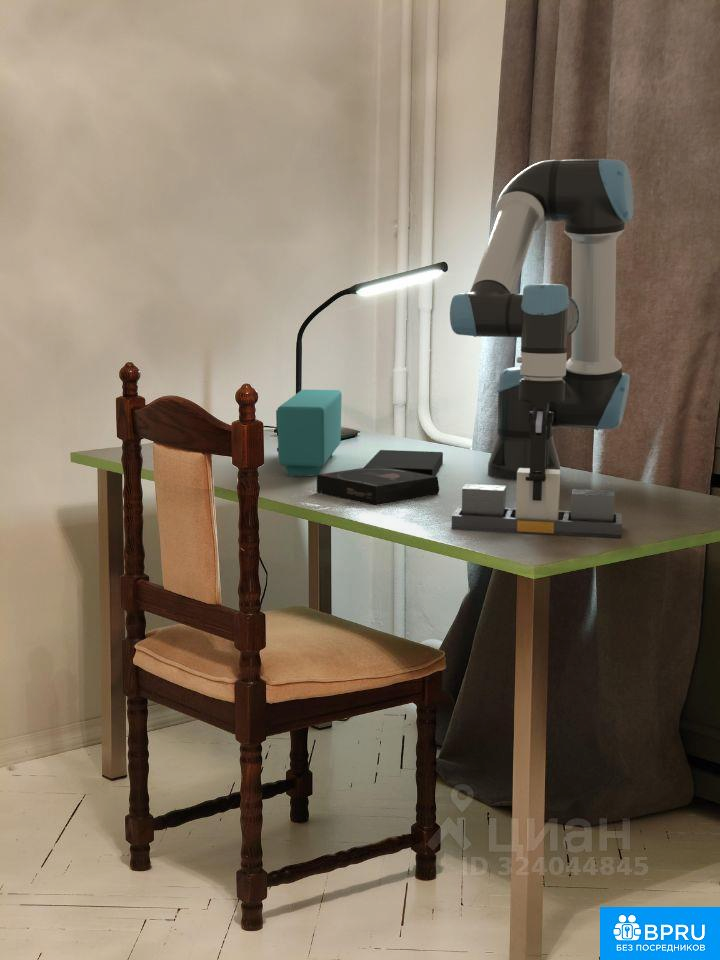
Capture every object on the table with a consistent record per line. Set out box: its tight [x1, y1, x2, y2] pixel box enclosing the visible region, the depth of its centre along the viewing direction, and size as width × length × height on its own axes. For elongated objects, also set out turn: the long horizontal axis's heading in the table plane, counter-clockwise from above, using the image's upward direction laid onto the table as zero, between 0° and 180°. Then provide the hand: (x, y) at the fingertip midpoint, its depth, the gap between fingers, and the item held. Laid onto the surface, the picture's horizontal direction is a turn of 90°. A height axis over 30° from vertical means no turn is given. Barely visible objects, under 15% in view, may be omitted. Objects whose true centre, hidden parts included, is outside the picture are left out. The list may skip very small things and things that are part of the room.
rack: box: [451, 483, 623, 539], centre depth 207 cm, size 9×28×7 cm, turn 78°
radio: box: [275, 389, 343, 476], centre depth 267 cm, size 34×10×15 cm, turn 175°
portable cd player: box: [316, 466, 440, 506], centre depth 237 cm, size 16×17×4 cm
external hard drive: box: [363, 449, 444, 476], centre depth 262 cm, size 14×23×3 cm, turn 171°
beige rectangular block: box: [515, 468, 561, 520], centre depth 207 cm, size 4×7×8 cm, turn 78°
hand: (537, 515), depth 207 cm, fingers closed on beige rectangular block, 4 cm apart
